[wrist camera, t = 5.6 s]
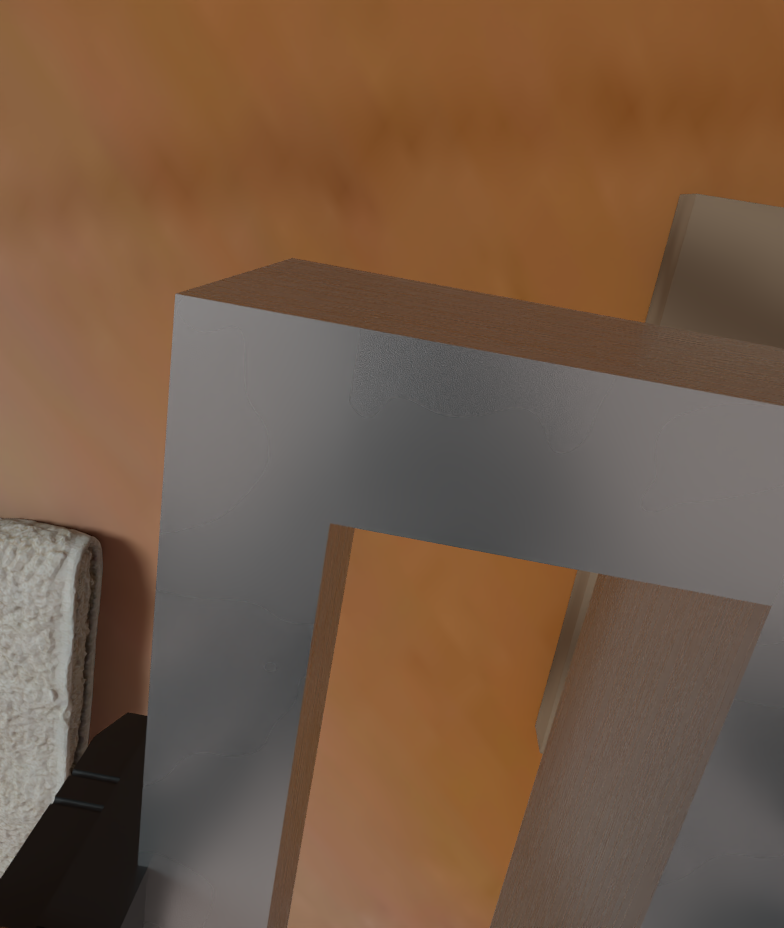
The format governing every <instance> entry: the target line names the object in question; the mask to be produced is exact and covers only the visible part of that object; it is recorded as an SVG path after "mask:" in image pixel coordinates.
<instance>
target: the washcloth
mask: <svg viewBox="0 0 784 928" xmlns="http://www.w3.org/2000/svg"><path fill="white" fill-rule="evenodd" d="M102 574H103V559H102V547H101V544H100V542H99V541H98V540H97V539H96V538H95V537H93V536H90V535H88V534H86V533H82V532H79V531H77V530H74V529H67V528H65V527H60V526H55V525H50V524H45V523H37V522H36V521H33V520H26V519H15V518H7V519H2V518H0V878H1V877H2V875H3V874H4V872H5V871H6V869H7V868H8V866H9V865H10V863H11V862H12V860H13V859H14V857H15V856H16V854H17V853H18V851H19V850H20V848H21V847H22V845H23V844H24V842H25V841H26V839H27V838H28V836H29V835H30V833H31V832H32V830H33V829H34V827H35V826H36V824H37V823H38V821H39V820H40V818H41V817H42V815H43V814H44V812H45V811H46V809H47V808H48V806H49V805H50V803H51V804H52V803H53V802H54V799H55V795H56V794H57V792H58V791H59V789H60V788H61V786H62V785H63V783H64V782H65V780H66V779H67V777H68V776H69V775H70V776H71V775H72V772H73V768H74V767H75V765H76V764H77V762H78V761H79V759H80V758H81V756H82V755H83V753H84V752H85V750H86V749H87V747H88V739H89V728H90V719H91V707H92V697H93V680H94V675H93V674H94V665H95V655H96V653H95V647H96V634H97V624H98V615H99V607H100V596H101V586H102Z"/></svg>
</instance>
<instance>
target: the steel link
mask: <svg viewBox="0 0 784 928" xmlns="http://www.w3.org/2000/svg"><path fill="white" fill-rule="evenodd" d="M355 528H358V529H363V530H369V531H374V532H379V533H385V534H390V535H395V536H401V537H406V538H411V539H417V540H422V541H427V542H433V543H438V544H443V545H449V546H454V547H459V548H465V549H470V550H475V551H481V552H486V553H491V554H497V555H502V556H507V557H513V558H518V559H523V560H529V561H534V562H539V563H545V564H550V565H555V566H561V567H566V568H571V569H577V570H582V571H587V572H593V573H598V576H597V579H596V583H595V586H594V589H593V593H592V596H591V599H590V602H589V606H588V609H587V612H586V615H585V619H584V622H583V625H582V628H581V632H580V635H579V638H578V641H577V645H576V648H575V651H574V655H573V658H572V661H571V664H570V668H569V671H568V674H567V677H566V681H565V684H564V687H563V690H562V694H561V697H560V700H559V703H558V707H557V710H556V713H555V717H554V720H553V723H552V726H551V730H550V733H549V736H548V739H547V743H546V746H545V749H544V752H543V756H542V759H541V762H540V765H539V769H538V772H537V775H536V779H535V782H534V785H533V788H532V792H531V795H530V798H529V801H528V805H527V808H526V811H525V814H524V818H523V821H522V824H521V827H520V831H519V834H518V837H517V841H516V844H515V847H514V850H513V854H512V857H511V860H510V863H509V867H508V870H507V873H506V876H505V880H504V883H503V886H502V889H501V893H500V896H499V899H498V903H497V906H496V909H495V912H494V916H493V919H492V922H491V925H490V928H784V349H781V348H778V347H773V346H767V345H762V344H756V343H751V342H745V341H740V340H735V339H729V338H724V337H718V336H713V335H707V334H702V333H697V332H691V331H686V330H680V329H675V328H669V327H664V326H659V325H653V324H648V323H642V322H637V321H631V320H626V319H621V318H615V317H610V316H604V315H599V314H593V313H588V312H583V311H577V310H572V309H566V308H561V307H555V306H550V305H545V304H539V303H534V302H528V301H523V300H517V299H512V298H507V297H501V296H496V295H490V294H485V293H479V292H474V291H469V290H463V289H458V288H452V287H447V286H441V285H436V284H431V283H425V282H420V281H414V280H409V279H403V278H398V277H393V276H387V275H382V274H376V273H371V272H365V271H360V270H355V269H349V268H344V267H338V266H333V265H327V264H322V263H317V262H311V261H306V260H300V259H295V258H291V259H288V260H284V261H281V262H278V263H274V264H271V265H268V266H265V267H261V268H258V269H255V270H252V271H248V272H245V273H242V274H239V275H235V276H232V277H229V278H225V279H222V280H219V281H216V282H212V283H209V284H206V285H203V286H199V287H196V288H193V289H189V290H186V291H183V292H180V293H176V294H175V309H174V324H173V339H172V355H171V370H170V385H169V400H168V415H167V430H166V445H165V460H164V475H163V490H162V505H161V520H160V536H159V551H158V566H157V581H156V596H155V611H154V626H153V641H152V656H151V671H150V686H149V701H148V717H147V732H146V747H145V762H144V777H143V792H142V807H141V822H140V837H139V852H138V865H139V866H144V867H148V871H147V884H146V898H145V912H144V925H143V928H287V925H288V919H289V913H290V907H291V901H292V895H293V889H294V884H295V878H296V872H297V866H298V860H299V854H300V848H301V842H302V836H303V831H304V825H305V819H306V813H307V807H308V801H309V795H310V789H311V783H312V778H313V772H314V766H315V760H316V754H317V748H318V742H319V736H320V730H321V725H322V719H323V713H324V707H325V701H326V695H327V689H328V683H329V677H330V671H331V666H332V660H333V654H334V648H335V642H336V636H337V630H338V624H339V618H340V613H341V607H342V601H343V595H344V589H345V583H346V577H347V571H348V565H349V560H350V554H351V548H352V542H353V536H354V530H355Z"/></svg>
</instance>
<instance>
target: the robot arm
mask: <svg viewBox="0 0 784 928" xmlns="http://www.w3.org/2000/svg"><path fill="white" fill-rule="evenodd" d="M147 717H148V716H144V715H139V714H133V713H126V714H125V715H124V716H122V717H121V718H120V719H118V720H117V721H115V722H114V723H113V724H111V725H110V726H109V727H107V728H106V729H104V730H103V731H102V732H100V733H99V734H98V735H96V736H95V737H94V738H93V740H92V741H91V743H90V744H89V746H88V747H87V749H86V750H85V752H84V753H83V755H82V756H81V758H80V759H79V761H78V762H77V764H76V765H75V767H74V768H73V772H72V775H71V776H70V775H69V776H68V777H67V779H66V780H65V782H64V783H63V785H62V786H61V788H60V789H59V791H58V792H57V794H56V795H55V799H54V802H53V803H52V804H51V803H50V805H49V806H48V808H47V809H46V811H45V812H44V814H43V815H42V817H41V818H40V820H39V821H38V823H37V824H36V826H35V827H34V829H33V830H32V832H31V833H30V835H29V836H28V838H27V839H26V841H25V842H24V844H23V845H22V847H21V848H20V850H19V851H18V853H17V854H16V856H15V857H14V859H13V860H12V862H11V863H10V865H9V866H8V868H7V869H6V871H5V872H4V874H3V875H2V877H1V878H0V928H143V925H144V912H145V898H146V884H147V871H148V867H144V866H139V865H138V852H139V837H140V822H141V807H142V792H143V777H144V762H145V747H146V732H147Z"/></svg>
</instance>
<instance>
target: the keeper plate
mask: <svg viewBox="0 0 784 928" xmlns="http://www.w3.org/2000/svg"><path fill="white" fill-rule="evenodd" d="M645 323H648V324H653V325H659V326H664V327H669V328H675V329H680V330H686V331H691V332H697V333H702V334H707V335H713V336H718V337H724V338H729V339H735V340H740V341H745V342H751V343H756V344H762V345H767V346H773V347H778V348H781V349H784V208H782V207H776V206H770V205H763V204H757V203H751V202H745V201H738V200H732V199H726V198H720V197H713V196H707V195H701V194H683V195H680V197H679V201H678V205H677V208H676V212H675V216H674V219H673V223H672V227H671V230H670V234H669V238H668V241H667V245H666V249H665V252H664V256H663V260H662V263H661V267H660V271H659V274H658V278H657V282H656V285H655V289H654V293H653V296H652V300H651V304H650V307H649V311H648V315H647V318H646V322H645ZM597 576H598V573H593V572H587V571H582V570H578V571H577V575H576V578H575V582H574V586H573V589H572V593H571V597H570V600H569V604H568V608H567V611H566V615H565V619H564V622H563V626H562V630H561V633H560V637H559V641H558V644H557V648H556V652H555V655H554V659H553V663H552V666H551V670H550V674H549V677H548V681H547V685H546V688H545V692H544V696H543V699H542V703H541V707H540V710H539V714H538V718H537V721H536V725H535V727H536V733H537V739H538V744H539V750H540V753H543V752H544V749H545V746H546V743H547V739H548V736H549V733H550V730H551V726H552V723H553V720H554V717H555V713H556V710H557V707H558V703H559V700H560V697H561V694H562V690H563V687H564V684H565V681H566V677H567V674H568V671H569V668H570V664H571V661H572V658H573V655H574V651H575V648H576V645H577V641H578V638H579V635H580V632H581V628H582V625H583V622H584V619H585V615H586V612H587V609H588V606H589V602H590V599H591V596H592V593H593V589H594V586H595V583H596V579H597Z"/></svg>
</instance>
